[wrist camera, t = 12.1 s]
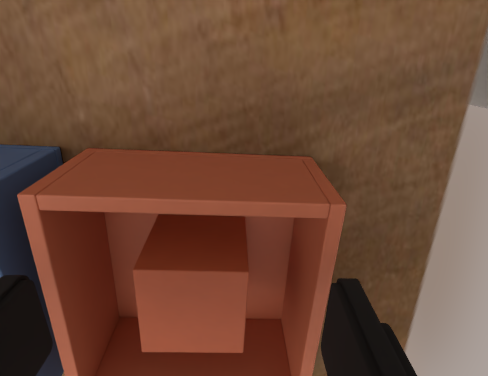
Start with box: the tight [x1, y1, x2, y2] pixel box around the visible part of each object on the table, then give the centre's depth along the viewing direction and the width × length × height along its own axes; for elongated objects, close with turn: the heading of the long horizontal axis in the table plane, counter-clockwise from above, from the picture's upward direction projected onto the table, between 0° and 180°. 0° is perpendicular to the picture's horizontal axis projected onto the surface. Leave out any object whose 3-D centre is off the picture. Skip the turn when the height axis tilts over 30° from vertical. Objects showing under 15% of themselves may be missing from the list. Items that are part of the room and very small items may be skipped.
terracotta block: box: [133, 214, 249, 353], centre depth 15 cm, size 5×5×5 cm
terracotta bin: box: [17, 148, 347, 376], centre depth 15 cm, size 11×11×6 cm
